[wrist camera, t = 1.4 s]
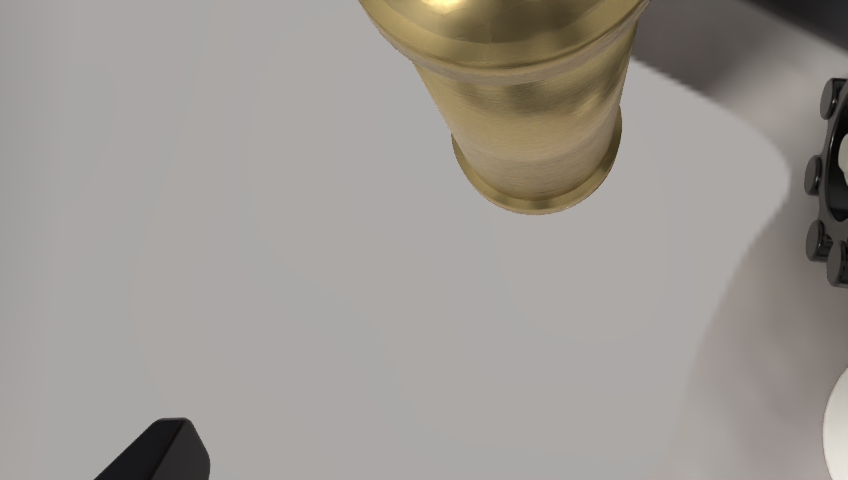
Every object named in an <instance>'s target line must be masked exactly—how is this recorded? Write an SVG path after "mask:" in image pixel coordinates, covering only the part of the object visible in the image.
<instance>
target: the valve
mask: <svg viewBox="0 0 848 480" xmlns="http://www.w3.org/2000/svg"><path fill="white" fill-rule="evenodd" d="M820 114H821V117H822V118H823V119H824V120H828V130H827V135H826V140H825V144H824V148H823V152H822V154H821V155H815V156H813V157H812V158H811V159H810V160H809V162H808V165H807V168H806V172H805V182H804V188H805V192H806V193H807V194H808V195H810V196H819V199H820V210H819V216H818V220H815V221H814V222H813V223H812V224H811V226H810V228H809V231H808V235H807V240H806V254H807V257H808V259H809V260H810V261H812V262H820V263H827V278H828V281H829V283H830V284H831V285H832V286H834V287H841V288H848V79H843V78H831V79H829V80H828V81H827V83H826V85H825V87H824V90H823V93H822V97H821V103H820Z"/></svg>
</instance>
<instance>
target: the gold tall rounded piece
mask: <svg viewBox="0 0 848 480" xmlns="http://www.w3.org/2000/svg"><path fill="white" fill-rule="evenodd" d="M358 1H359V2H360V4H361V5H362V7H363V9H364V10H365V12H366V14H367V15H368V17H369V18H370V20H371V21H372V23H373V24H374V25H375V27H376V28H377V29H378V31H379V32H380V34H381V35H382V36H383V37H384V38H385V39H386V40H387V41H388V42H389V43H390V44H391V45H392V46H393V47H394V48H395V49H396V50H398V51H399V52H400V53H402V54H403V55H404V56H406V57H407V58H408V59H410V60H411V61H412V62H413V64H414V66H415V68H416V70H417V71H418V73H419V75H420V77H421V79H422V80H423V82H424V84H425V86H426V88H427V90H428V91H429V93H430V95H431V97H432V98H433V100H434V102H435V104H436V106H437V108H438V109H439V111H440V113H441V115H442V117H443V118H444V120H445V122H446V124H447V125H448V127H449V129H450V131H451V136H452V144H453V148H454V153H455V155H456V158H457V161H458V163H459V165H460V167H461V169H462V170H463V172H464V174H465V175H466V177H467V179H468V180H469V181H470V183H471V184H472V186H473V187H474V188H475V189H476V190H477V191H478V192H479V193H480V194H481V195H482V196H483V197H485V198H486V199H487V200H488V201H490V202H492V203H493V204H495V205H497V206H499V207H501V208H504V209H506V210H508V211H512V212H515V213H520V214H526V215H544V214H551V213H555V212H559V211H562V210H565V209H568V208H570V207H572V206H574V205H576V204H578V203H580V202H581V201H583V200H584V199H586V198H587V197H588V196H590V195H591V194H592V193H593V192H594V191H595V190H596V189H597V188H598V187H599V186H600V185H601V183H602V182H603V181H604V180H605V178H606V177H607V175H608V173H609V172H610V170H611V168H612V166H613V163H614V161H615V158H616V155H617V151H618V148H619V144H620V139H621V132H622V118H621V109H620V106H619V103H620V99H621V95H622V90H623V86H624V81H625V77H626V72H627V68H628V64H629V59H630V55H631V50H632V46H633V41H634V37H635V33H636V28H637V24H638V19H639V17H640V16H641V15H642V14H643V12H644V11H645V10H646V8H647V7H648V5H649V3H650V2H651V0H358Z"/></svg>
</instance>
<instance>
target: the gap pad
mask: <svg viewBox="0 0 848 480" xmlns="http://www.w3.org/2000/svg"><path fill="white" fill-rule="evenodd" d="M822 443H823V450H824V456H825V461H826V464H827V467H828V471H829V474H830V476H831V478H832V480H848V367H847V368H846V369H845V370H844V372H843V373H842V374H841V375H840V377H839V379H838V380H837V382H836V383H835V385H834V387H833V389H832V391H831V394H830V396H829V398H828V401H827V405H826V408H825V412H824V418H823V426H822Z"/></svg>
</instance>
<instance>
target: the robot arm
mask: <svg viewBox="0 0 848 480" xmlns="http://www.w3.org/2000/svg"><path fill="white" fill-rule="evenodd" d="M209 474H210V459H209V455H208V453H207V451H206V448H205V447H204V445H203V443H202V441H201V439H200V437H199V435H198V433H197V431H196V429H195V428H194V425H193V424H192V422H191V421H190V420H188V419H187V418H162V419H159V420H157V421H155V422H154V423H152V424H151V425H150V426H149V427H148V428H147V429H146V430H145V431H144V432H143V433H142V434H141V435H140V436H139V437H138V438H137V439H136V440H135V441H134V442H132V444H131V445H130V446H128V447H127V448H126V449H125V450H124V451H123V452H122V453H121V454H120V455H119V456H118V457H117V458H116V459H115V460H114V461H113V462H112V463H111V464H110V465H109V466H108V467H106V468H105V469H104V470H103V471H102V472H101V473H100V474H99V475H98V476H97V477H96V478H95V479H94V480H209Z"/></svg>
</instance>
